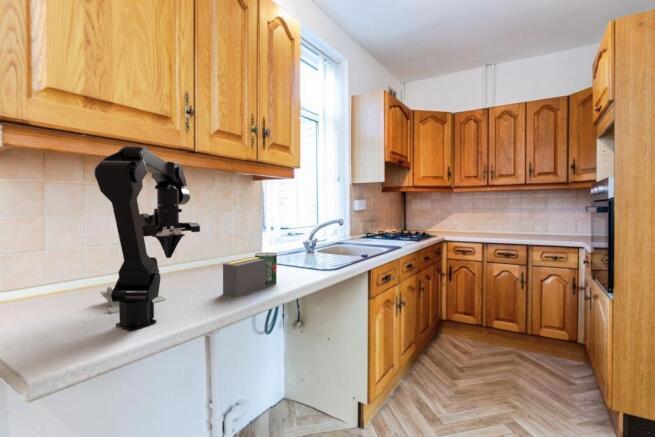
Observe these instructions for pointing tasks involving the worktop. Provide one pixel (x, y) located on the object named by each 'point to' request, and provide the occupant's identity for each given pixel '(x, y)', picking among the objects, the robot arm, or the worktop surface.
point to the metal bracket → (116, 304)
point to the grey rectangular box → (243, 276)
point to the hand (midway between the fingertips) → (168, 257)
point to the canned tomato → (269, 267)
